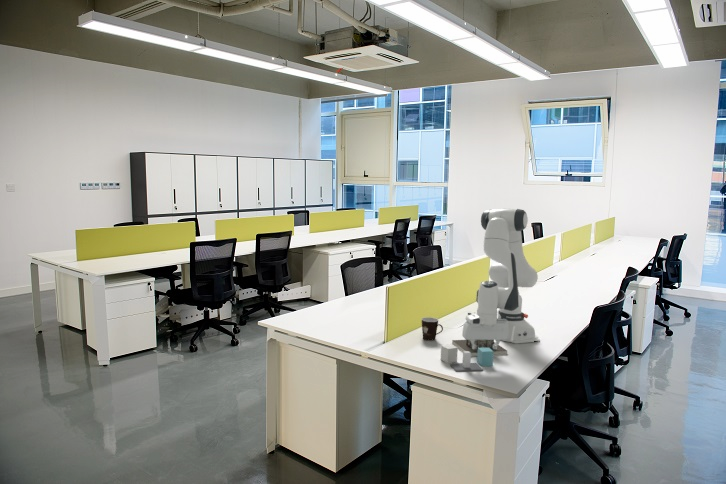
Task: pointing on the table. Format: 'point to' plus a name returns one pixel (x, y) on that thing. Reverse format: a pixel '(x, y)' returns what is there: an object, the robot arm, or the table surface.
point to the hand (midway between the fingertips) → (484, 348)
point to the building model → (478, 346)
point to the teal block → (485, 356)
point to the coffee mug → (430, 328)
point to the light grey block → (449, 353)
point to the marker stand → (466, 364)
